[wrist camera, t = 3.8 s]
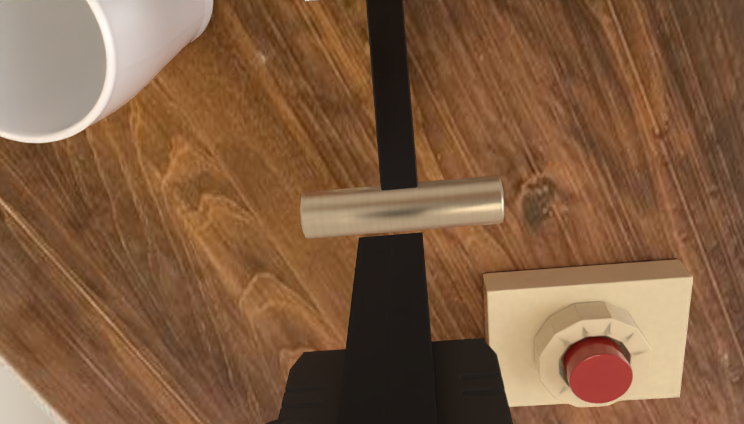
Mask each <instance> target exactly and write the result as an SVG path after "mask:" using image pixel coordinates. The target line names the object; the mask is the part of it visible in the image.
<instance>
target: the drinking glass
mask: <svg viewBox="0 0 744 424" xmlns="http://www.w3.org/2000/svg"><path fill="white" fill-rule="evenodd" d="M212 11H213V0H0V137H3V138H7V139H10V140H14V141H19V142H27V143H47V142H54V141H59V140H62V139H66V138H68V137H71V136H73V135H75V134H77V133H79V132H81V131H82V130H84V129H86V128H88V127H90V126H92V125H93V124H95V123H97V122H99V121H101V120H102V119H104V118H106V117H107V116H109V115H111V114H112V113H114V112H115V111H117V110H118V109H119V108H121V107H122V106H124V105H125V104H126V103H128V102H129V101H130V100H131V99H133V98H134V97H135V96H136V95H137V94H138V93H140V92H141V91H142V90H143V89H144V88H145V87H146V86H147V85H148V84H149V83H150V82H151V81H152V80H153V79H154V78H155V77H156V76H157V75H158V74H159V73H160V72H161V71H162V70H163V69H164V68H165V67H166V66H167V65H168V63H169V62H170V61H171V60H172V59H173V58H174V57H175V56H176V55H177V54H178V53H179V52H180V51H181V50H182V49H183V48H184V47H186V46H187V45H188V44H190V43H191V42H193V41H194V40H195V39H197V38H198V37H199V36H200V35H201V34H202V33H203V31H204V30H205V29H206V27H207V25H208V23H209V21H210V19H211V15H212Z"/></svg>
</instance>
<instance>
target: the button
mask: <svg viewBox="0 0 744 424" xmlns="http://www.w3.org/2000/svg"><path fill="white" fill-rule="evenodd" d="M563 368H564V372H565V374H566V377H567V380H568V383H569V385H570V388H571V390H572V392H573V393H574V394H575V395H576V396H577V397H578V398H579V399H581V400H583V401H585V402H589V403H595V404H600V403H607V402H611V401H613V400H616V399H617V398H619V397H621V396H622V395H623V394H624V393H625V392H626V391H627V390H628V389H629V387H630V385H631V383H632V379H633V372H632V368H631V366H630V364H629V362H628V360H627V358H626V356H625V355H624V353H623V351H622V349H621V347H620V346H619V345H618V344H617V343H616V342H614V341H613V340H611V339H608V338H605V337H588V338H584V339H582V340H579V341H578V342H576V343H574V344H573V345H572V346H571V347H570V348H569V349H568V350H567V352H566V353H565V356H564V359H563Z"/></svg>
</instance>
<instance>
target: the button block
mask: <svg viewBox="0 0 744 424" xmlns="http://www.w3.org/2000/svg"><path fill="white" fill-rule="evenodd" d="M692 283H693V276H692V275H691V274H690V272H689V271H688V270H687V269H686V268H685V266H684V265H683V264H682V263H681V261H680V260H679V259H674V260H660V261H647V262H633V263H620V264H606V265H592V266H579V267H565V268H552V269H538V270H525V271H511V272H498V273H484V274H483V290H484V313H485V336H486V343H487V344H488V345H489V346H490V347H491V348H492V349H493V350H494V351H495V353H496V354H497V357H498V361H499V366H500V370H501V376H502V379H503V383H504V387H505V393H506V396H507V400H508V405H509V407H515V406H533V405H551V404H570V405H573V406H575V407H598V406H609V405H611V404H613V403H615V402H617V401H621V400H639V399H656V398H674V397H680V389H681V380H682V371H683V363H684V354H685V345H686V336H687V327H688V318H689V309H690V301H691V292H692ZM588 337H605V338H608V339H611V340H613V341H614V342H616V343H617V344H618V345H619V346H620V347H621V349H622V351H623V353H624V355H625V356H626V358H627V360H628V362H629V364H630V366H631V368H632V372H633V379H632V383H631V385H630V387H629V389H628V390H627V391H626V392H625V393H624V394H623V395H622V396H621V397H619V398H617V399H616V400H613V401H611V402H607V403H600V404H595V403H589V402H585V401H583V400H581V399H579V398H578V397H577V396H576V395H575V394H574V393H573V392H572V390H571V388H570V385H569V383H568V380H567V377H566V374H565V372H564V368H563V359H564V356H565V353H566V352H567V350H568V349H569V348H570V347H571V346H572V345H573V344H574V343H576V342H578V341H579V340H582V339H584V338H588Z"/></svg>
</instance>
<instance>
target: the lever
mask: <svg viewBox="0 0 744 424" xmlns="http://www.w3.org/2000/svg"><path fill="white" fill-rule="evenodd" d="M366 5H367V18H368V30H369V43H370V56H371V69H372V81H373V94H374V107H375V119H376V132H377V145H378V158H379V170H380V183H381V186H370V187H358V188H346V189H335V190H323V191H311V192H304V193H302V195H301V199H300V219H301V226H302V230H303V233H304V235H305V237H306V238H308V239H313V238H325V237H338V236H350V235H363V234H375V233H388V232H400V231H413V230H425V229H438V228H450V227H463V226H475V225H488V224H500V223H502V222H503V220H504V214H505V208H504V194H503V187H502V182H501V179H500V177H499V176H486V177H474V178H462V179H451V180H439V181H428V182H418V178H417V166H416V154H415V142H414V130H413V118H412V106H411V93H410V81H409V69H408V57H407V45H406V33H405V21H404V8H403V0H366Z"/></svg>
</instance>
